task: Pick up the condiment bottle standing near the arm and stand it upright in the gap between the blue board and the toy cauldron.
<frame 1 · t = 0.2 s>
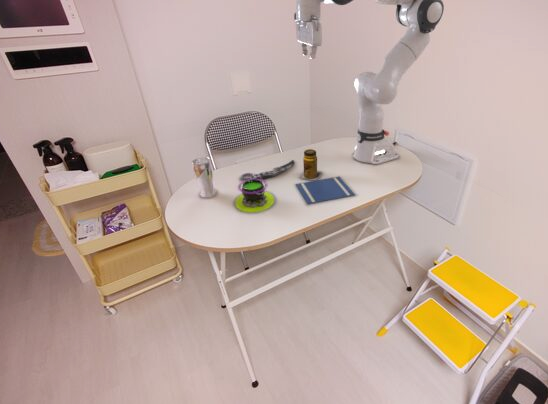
hand: (308, 56, 118), 47 cm above the table, tool pointing down, fingers open, 8 cm apart
blue board: (324, 189, 126), on the table
toy cauldron: (254, 201, 119), on the table
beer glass: (208, 194, 124), on the table
condiment: (311, 175, 137), on the table
knife: (271, 172, 139), on the table
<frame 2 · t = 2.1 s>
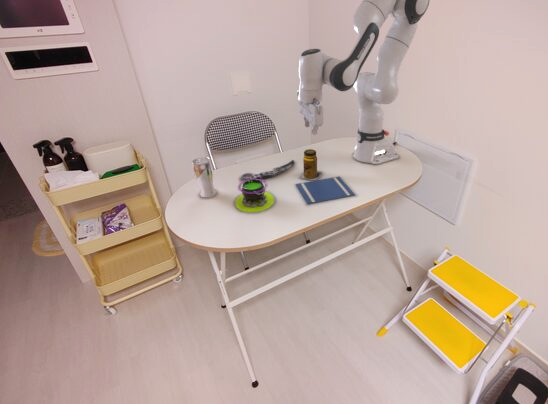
hand: (310, 130, 125), 21 cm above the table, tool pointing down, fingers open, 8 cm apart
nothing on the table moved.
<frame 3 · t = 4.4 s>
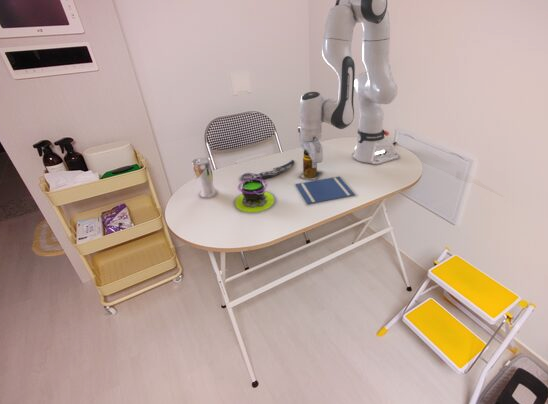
hand: (311, 163, 133), 6 cm above the table, tool pointing down, fingers closed on condiment, 6 cm apart
condiment: (311, 175, 137), on the table, touching gripper
everything else where it was.
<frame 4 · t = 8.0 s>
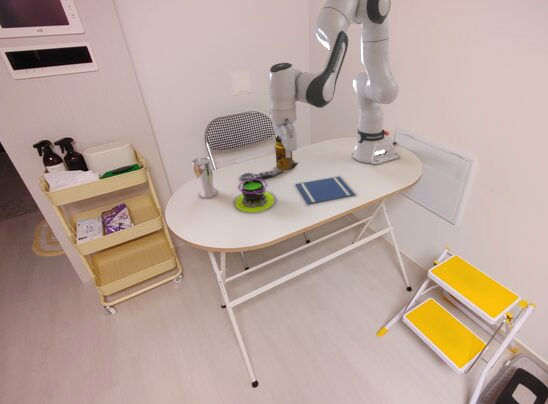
hand: (285, 152, 111), 19 cm above the table, tool pointing down, fingers closed on condiment, 6 cm apart
condiment: (286, 166, 115), point 13 cm above the table, touching gripper
everything else where it was.
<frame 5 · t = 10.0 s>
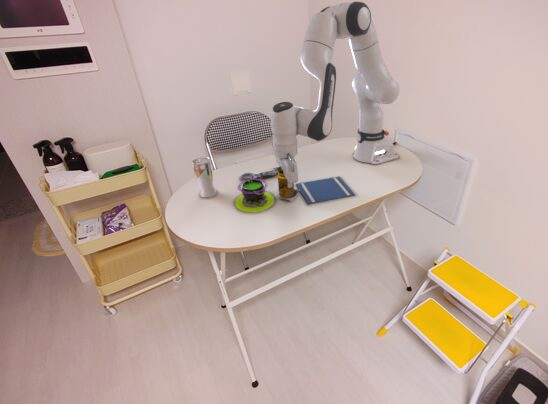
hand: (287, 182, 118), 7 cm above the table, tool pointing down, fingers closed on condiment, 6 cm apart
condiment: (288, 194, 122), point 1 cm above the table, touching gripper
everything else where it was.
when the fingers open (6 cm above the table, at t = 10.8 s): condiment stays where it is, on the table.
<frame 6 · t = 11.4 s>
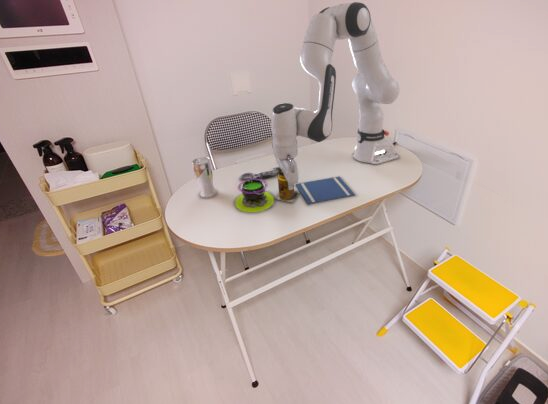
hand: (287, 183, 118), 6 cm above the table, tool pointing down, fingers open, 8 cm apart
condiment: (288, 196, 122), on the table
everything else where it was.
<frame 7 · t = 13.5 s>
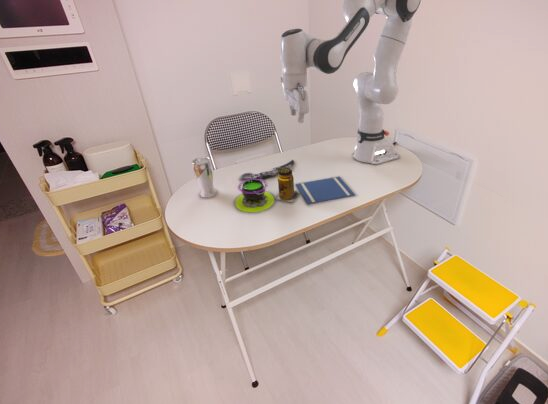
hand: (297, 118, 117), 28 cm above the table, tool pointing down, fingers open, 8 cm apart
nothing on the table moved.
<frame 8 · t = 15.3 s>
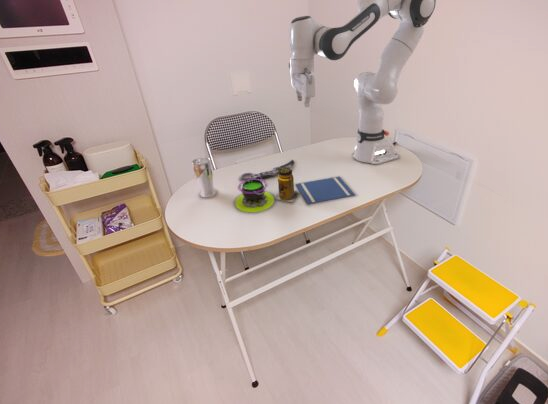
hand: (303, 103, 122), 31 cm above the table, tool pointing down, fingers open, 8 cm apart
nothing on the table moved.
at the end: condiment inside the target area (0.6 cm from its centre), on the table; condiment tilted 0°; toy cauldron moved 0.2 cm from its start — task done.
